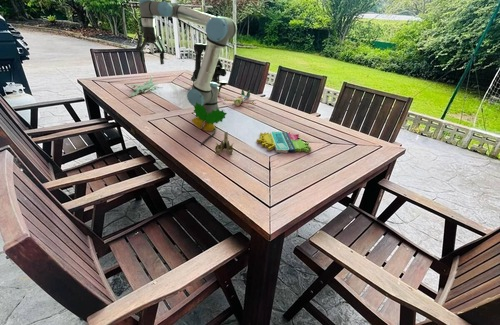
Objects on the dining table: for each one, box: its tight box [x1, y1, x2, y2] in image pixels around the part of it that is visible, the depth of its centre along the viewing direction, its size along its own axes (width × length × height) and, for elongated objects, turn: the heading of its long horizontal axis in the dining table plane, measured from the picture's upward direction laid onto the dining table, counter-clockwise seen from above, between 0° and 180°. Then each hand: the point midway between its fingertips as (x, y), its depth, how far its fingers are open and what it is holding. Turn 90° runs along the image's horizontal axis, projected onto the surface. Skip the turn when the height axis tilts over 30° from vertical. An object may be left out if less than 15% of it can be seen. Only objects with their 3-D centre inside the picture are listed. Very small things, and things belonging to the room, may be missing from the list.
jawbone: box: [214, 131, 234, 156], centre depth 136 cm, size 9×15×10 cm
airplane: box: [127, 74, 164, 98], centre depth 226 cm, size 38×31×10 cm
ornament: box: [191, 102, 228, 132], centre depth 162 cm, size 21×8×15 cm, turn 105°
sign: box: [256, 131, 312, 154], centre depth 152 cm, size 26×2×30 cm
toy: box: [223, 89, 257, 106], centre depth 219 cm, size 28×7×30 cm
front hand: (152, 63), depth 169 cm, fingers open, 13 cm apart
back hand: (216, 91), depth 239 cm, fingers open, 6 cm apart
